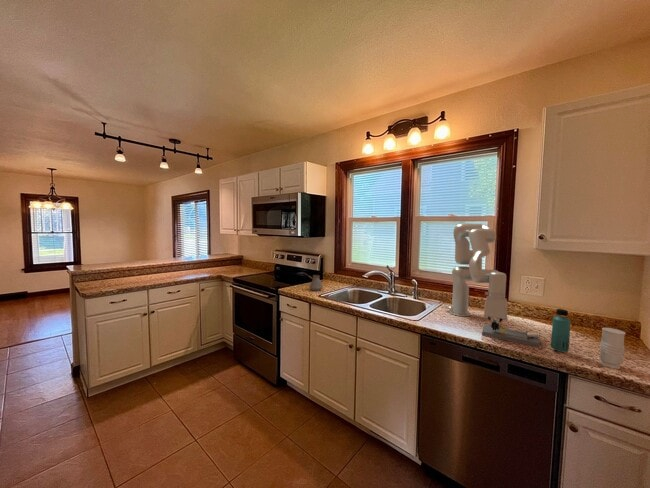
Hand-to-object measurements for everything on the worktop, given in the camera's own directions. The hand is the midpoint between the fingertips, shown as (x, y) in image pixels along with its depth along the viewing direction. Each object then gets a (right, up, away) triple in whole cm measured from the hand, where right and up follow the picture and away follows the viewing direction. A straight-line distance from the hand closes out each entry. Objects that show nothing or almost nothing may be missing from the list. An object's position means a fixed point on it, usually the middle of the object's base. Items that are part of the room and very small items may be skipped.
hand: (494, 329), depth 140 cm
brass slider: (+3, -1, -2) cm, 4 cm away
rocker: (+15, -1, -6) cm, 17 cm away
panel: (+8, -4, -1) cm, 8 cm away
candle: (+31, -6, -28) cm, 42 cm away
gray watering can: (-102, +5, +95) cm, 140 cm away
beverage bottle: (+19, -5, -17) cm, 26 cm away
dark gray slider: (+5, -1, +5) cm, 7 cm away
